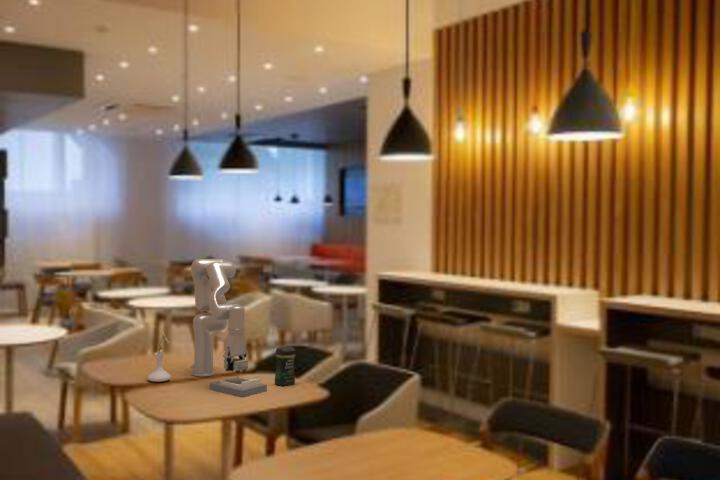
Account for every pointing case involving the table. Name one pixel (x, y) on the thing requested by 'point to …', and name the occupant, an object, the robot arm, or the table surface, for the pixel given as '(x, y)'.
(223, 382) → the dock
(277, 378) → the coffee jar
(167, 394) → the table surface
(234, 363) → the cart
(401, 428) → the table surface
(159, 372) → the flower in vase
